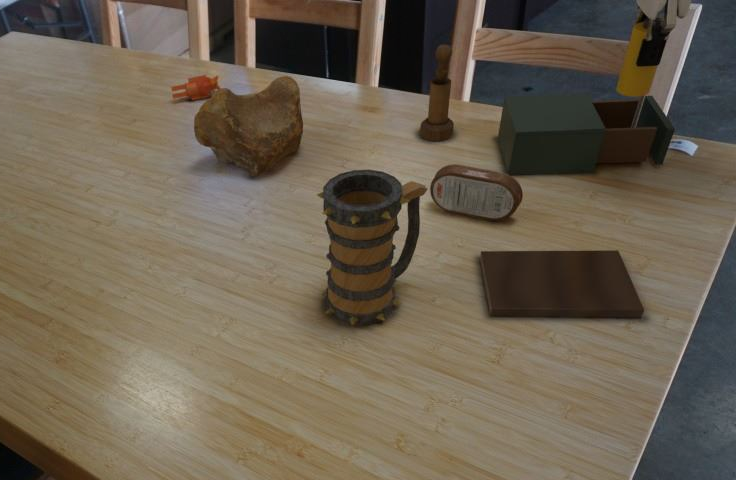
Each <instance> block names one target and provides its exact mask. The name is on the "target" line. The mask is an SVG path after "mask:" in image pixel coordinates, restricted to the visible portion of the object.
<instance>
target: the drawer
mask: <svg viewBox="0 0 736 480" xmlns="http://www.w3.org/2000/svg"><path fill="white" fill-rule="evenodd" d="M591 102H592V103H593V105H594V107H595V109H596V111H597V113H598V115H599V117H600V119H601V121H602V122H603V124H604V126H605V128H606V129H605V132H604V137H603V140H602V144H601V147H600V151H599V154H598V158H597V162H596V164H606V163H607V164H609V163H610V164H612V163H644V162H645V163H646V162H647V161H648V157H650V159H651V160H652V162H653V163H654V165H655V166H658V165H659V166H660V165H661V166H662V165H664V162H665V159H666V156H667V154H668V151H669V147H670V144H671V143H672V139H673V136H674V133H675V131H676V128H675V126H674V125H673V124H672V122H671V121H670V119H669V118H668V117H667V115H666V113H665V112H664V111H663V109H662V108H661V106H660V105H659V103H658V102H657V100H656V99H655V97H654V96H653V95H644V98H643V101H642V105H641V108H640V111H639V115H638V118H637V122H636V125H635V127H632V125H633V122H634V118H635V116H636V112H637V109H638V105H639V102H640V100H639V98H629V99H628V98H627V99H607V100H605V99H604V100H603V99H602V100H591Z"/></svg>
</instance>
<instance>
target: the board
mask: <svg viewBox="0 0 736 480" xmlns="http://www.w3.org/2000/svg"><path fill="white" fill-rule="evenodd" d="M479 261H480V267H481V273H482V279H483V283H484V288H485V294H486V301H487V305H488V310H489V316H490V317H539V318H540V317H542V318H543V317H545V318H547V317H549V318H551V317H553V318H617V319H618V318H621V319H623V318H625V319H627V318H628V319H630V318H631V319H632V318H634V319H642V316H643V314H644V312H645V309H644V306H643V304H642V302H641V299H640V297H639V295H638V293H637V290H636V287H635V285H634V283H633V281H632V279H631V276H630V274H629V272H628V269H627V267H626V265H625V262H624V260H623V258H622V255H621V254H620V251H619V250H618V249H617V250H613V249H612V250H610V249H609V250H490V251H489V250H481V251H480V255H479Z"/></svg>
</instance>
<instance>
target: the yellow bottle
mask: <svg viewBox="0 0 736 480" xmlns="http://www.w3.org/2000/svg"><path fill="white" fill-rule="evenodd" d="M649 20H650V19H649V18H646V19H645V20H644V22H640V23H637V24H634V25H633V26H634V27H632V29H633V31H632V30H631V33H632V34H631V33H630V37H631V38H630V37H629V40H630V41H629V40H628V44H629V45H627V48H628V49H627V48H626V53H625V56H624V60H623V63H622V67H621V69H620V70H621V71H620V74H619V78H618V81H617V85H616V89H615V90H616V93H618V94H620V95H621V96H624V97H630V98H632V97H633V98H638V97H645V96H648V95H649V93H650V91H651V88H652V85H653V82H654V78H655V75H656V72H657V69H658V66H659V65H657V66H642V67H638V66H637V65H636V61H637V58H638V54H639V51H640V47H641V44H642V40H643V39H646V35H647V30H648V25H649ZM662 23H663V22H656V23H655V28H656V27H657V26H658V25H661V24H662ZM655 28H654V30H655Z"/></svg>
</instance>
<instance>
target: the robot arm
mask: <svg viewBox="0 0 736 480" xmlns="http://www.w3.org/2000/svg"><path fill="white" fill-rule="evenodd" d="M635 2H636V4H637V12H636V14H635V18H634V21H633V24H634V25H635V24H637V23H640V22H644V20H645V19H646V18H649V19H650V20H649V25H648V30H647V35H646V39H643V40H642V44H641V47H640V51H639V54H638V58H637V61H636V65H637V66H638V67H642V66H657V65H658V66H659V65H660V63H661V61H662V57H663V54H664V51H665V48H666V45H667V41H668V40H669V38H670V34H671V32H672V31H673V30H674V29H676V26H677V18H678V19H681V20H682V19H684V18H686V17H687V16H688V14H689V10H690V7H691V4H692V0H635ZM660 14H663V16H659V15H660ZM656 22H662V24H661V25H658V26H657V27H656V28H655V23H656ZM634 25H633V27H634ZM633 27H632V28H631V29H632V30H631V33H630V35H631V34H632V31H633ZM654 28H655V30H654ZM630 38H631V36H630V37H629V40H628V42H629V41H630ZM628 45H629V43H628ZM628 45H627V46H628ZM627 49H628V47H626V50H627ZM658 66H657V67H658Z"/></svg>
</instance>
